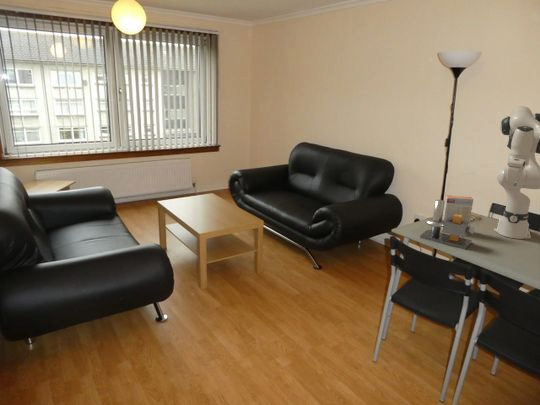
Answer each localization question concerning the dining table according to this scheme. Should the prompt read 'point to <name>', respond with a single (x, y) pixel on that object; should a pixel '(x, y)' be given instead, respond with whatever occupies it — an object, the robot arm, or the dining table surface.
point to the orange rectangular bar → (456, 220)
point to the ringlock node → (447, 228)
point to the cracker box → (457, 207)
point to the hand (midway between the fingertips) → (512, 188)
